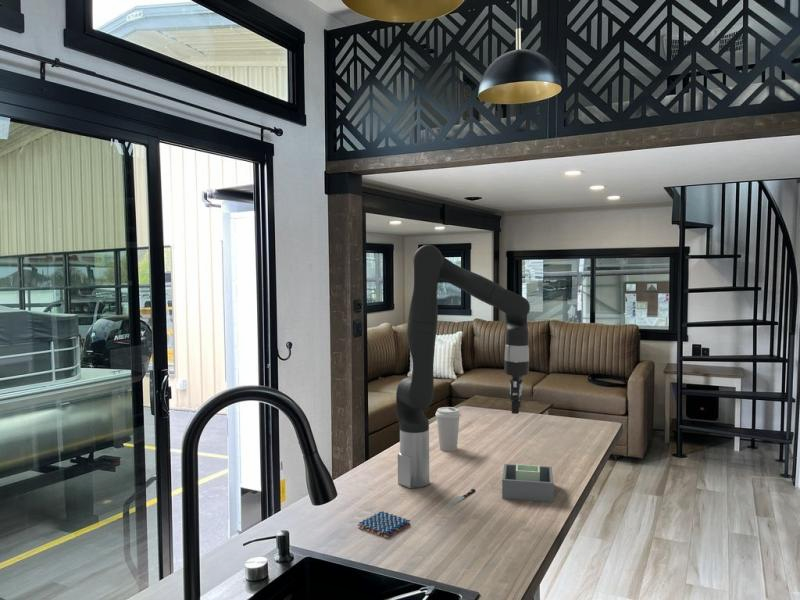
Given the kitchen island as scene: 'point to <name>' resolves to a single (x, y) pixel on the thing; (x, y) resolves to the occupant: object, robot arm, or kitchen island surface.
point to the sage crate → (527, 472)
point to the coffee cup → (448, 427)
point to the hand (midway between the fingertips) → (516, 410)
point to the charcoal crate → (527, 485)
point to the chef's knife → (458, 499)
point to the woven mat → (384, 524)
